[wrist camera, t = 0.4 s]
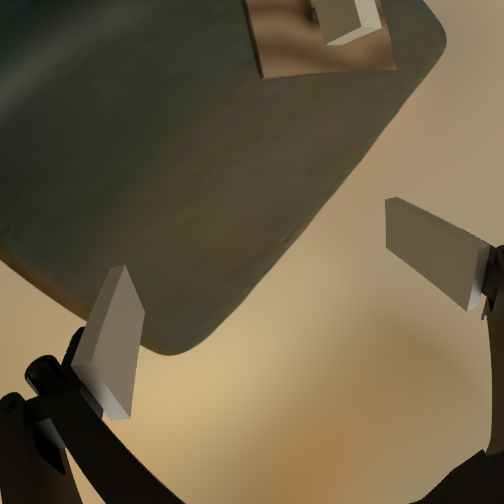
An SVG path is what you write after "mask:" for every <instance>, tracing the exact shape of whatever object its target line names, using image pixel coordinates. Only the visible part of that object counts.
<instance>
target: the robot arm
mask: <svg viewBox="0 0 504 504" xmlns="http://www.w3.org/2000/svg"><path fill="white" fill-rule="evenodd" d="M385 213H386V248H387V249H388V250H390V251H391V252H393V253H394V254H395V255H396V256H398V257H399V258H401V259H402V260H403V261H404V262H406V263H407V264H408V265H410V266H411V267H412V268H414V269H415V270H416V271H417V272H419V273H420V274H421V275H423V276H424V277H425V278H426V279H428V280H429V281H430V282H431V283H433V284H434V285H435V286H436V287H438V288H439V289H440V290H441V291H443V292H444V293H445V294H446V295H447V296H449V297H450V298H451V299H452V300H453V301H455V302H456V303H457V304H458V305H459V306H461V307H462V308H463V309H464V310H465V311H466V312H467V311H469V310H471V309H473V308H475V307H477V306H478V305H479V301H480V297H481V292H482V293H483V294H484V295H485V296H487V298H486V302H485V306H484V309H483V313H482V318H481V320H483V319H484V316H485V315H487V322H488V331H489V341H490V351H491V367H492V429H491V439H490V443H489V446H488V448H487V451H486V453H485V452H484V450H483V449H482V450H480V451H479V452H478V453H476V454H475V455H474V456H472V457H471V458H470V459H468V460H467V461H465V462H464V463H462V464H461V465H459V466H458V467H456V468H455V469H453V470H452V471H451V472H450V473H449V474H448V475H447V476H446V477H445V478H444V479H443V480H442V481H441V482H440V483H439V484H438V485H437V486H436V487H435V488H434V489H433V490H432V491H431V492H429V493H428V494H427V495H426V496H425V497H424V498H423V499H421V500H419V501H417V502H413V503H410V504H504V245H501V246H498V247H497V248H495V247H493V246H492V245H490V244H488V243H486V242H485V241H483V240H481V239H479V238H477V237H476V236H474V235H472V234H470V233H469V232H466V231H465V230H463V229H460V228H458V227H456V226H454V225H452V224H450V223H449V222H447V221H445V220H443V219H441V218H439V217H437V216H435V215H433V214H431V213H429V212H427V211H425V210H423V209H421V208H419V207H417V206H415V205H413V204H410V203H408V202H406V201H404V200H402V199H400V198H398V197H394V198H390V199H386V200H385ZM144 315H145V311H144V309H143V307H142V305H141V302H140V300H139V298H138V295H137V293H136V290H135V288H134V286H133V283H132V281H131V278H130V276H129V273H128V271H127V268H126V265H122V266H118V267H114V268H111V269H110V271H109V273H108V276H107V278H106V280H105V282H104V284H103V287H102V289H101V291H100V293H99V296H98V298H97V300H96V303H95V305H94V307H93V310H92V312H91V314H90V317H89V319H88V322H87V324H86V326H84V327H80V328H79V329H78V330H77V331H76V333H75V334H74V335H73V336H72V339H71V341H70V344H69V346H68V349H67V351H66V354H65V356H64V359H63V361H62V364H61V365H60V364H59V362H58V361H57V359H56V358H55V357H54V356H52V355H45V356H41V357H39V358H37V359H36V360H34V361H33V362H32V363H31V364H30V365H29V366H28V368H27V369H26V372H25V380H26V381H27V383H28V384H29V385H30V387H31V388H32V389H33V390H34V391H35V393H36V394H37V395H38V396H37V397H34V398H31V399H29V400H26V401H25V400H24V398H23V397H22V396H21V395H20V394H19V393H17V392H12V393H9V394H7V395H5V396H3V398H2V399H1V400H0V491H1V498H2V504H83V503H82V500H81V497H80V495H79V492H78V489H77V486H76V484H75V480H74V478H73V474H72V471H71V468H70V465H69V461H68V458H67V455H66V451H65V448H66V447H67V449H68V450H69V452H70V454H71V455H72V457H73V458H74V460H75V462H76V463H77V464H78V466H79V468H80V469H81V470H82V472H83V473H84V475H85V476H86V478H87V479H88V481H89V482H90V483H91V485H92V486H93V487H94V489H95V490H96V491H97V493H98V494H99V495H100V497H101V498H102V499H103V501H104V502H105V503H106V504H185V503H184V502H183V501H182V500H181V499H180V498H178V497H177V496H176V495H175V494H174V493H173V492H172V491H170V490H169V489H168V488H167V487H166V486H165V485H164V484H163V483H162V482H160V481H159V480H158V479H157V478H156V477H155V476H154V475H153V474H152V473H151V472H150V471H149V470H148V469H147V468H146V467H145V466H144V465H143V464H142V463H141V462H140V461H139V460H138V459H137V458H136V457H135V456H134V455H133V454H132V453H131V452H130V451H129V450H128V449H127V448H126V447H125V445H124V444H123V443H122V442H121V441H120V440H119V439H118V438H117V437H116V435H115V434H114V433H113V432H112V431H111V430H110V429H109V427H108V426H107V425H106V424H105V423H104V422H103V421H102V416H103V411H104V412H105V413H106V414H107V416H108V417H109V418H110V419H111V420H120V419H128V418H130V416H131V406H132V396H133V389H134V381H135V372H136V366H137V358H138V351H139V345H140V339H141V332H142V326H143V321H144Z"/></svg>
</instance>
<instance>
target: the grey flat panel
mask: <svg viewBox="0 0 504 504" xmlns="http://www.w3.org/2000/svg"><path fill="white" fill-rule="evenodd" d="M310 2H311V6H312V8H316V9H315V10H314V11H313V12H311V13H310V19H311V20H312V21H314V22H319V24H320V28H321V32H322V36H323V40H324V44H325V45H343V44H345V43H348V42H350V41H352V40H354V39H357V38H359V37H361V36H364V35H366V34H369V33H371V32H374V31H376V30H378V29H381V28H382V26H381V22H380V19H379V15H378V11H377V8H376V4H375V1H374V0H310Z"/></svg>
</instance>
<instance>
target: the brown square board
mask: <svg viewBox="0 0 504 504" xmlns="http://www.w3.org/2000/svg"><path fill="white" fill-rule="evenodd" d="M243 1H244V5H245V9H246V13H247V18H248V22H249V26H250V30H251V34H252V39H253V43H254V47H255V52H256V56H257V61H258V65H259V70H260V74H261V79H262V80H263V79H270V78H277V77H285V76H294V75H304V74H315V73H328V72H345V71H393V70H397V67H396V62H395V57H394V53H393V48H392V44H391V40H390V35H389V31H388V27H387V24H386V20H385V16H384V13H383V9H382V6H381V2H380V0H374V1H375V4H376V8H377V11H378V15H379V19H380V22H381V26H382V28H381V29H378V30H376V31H374V32H371V33H369V34H366V35H364V36H361V37H359V38H357V39H354V40H352V41H350V42H348V43H345V44H343V45H325V44H324V40H323V36H322V32H321V28H320V24H319V22H314V21H312V20H311V19H310V13H311V12H313V11H314V10H315V9H316V8H312V6H311V2H310V0H243Z"/></svg>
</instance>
